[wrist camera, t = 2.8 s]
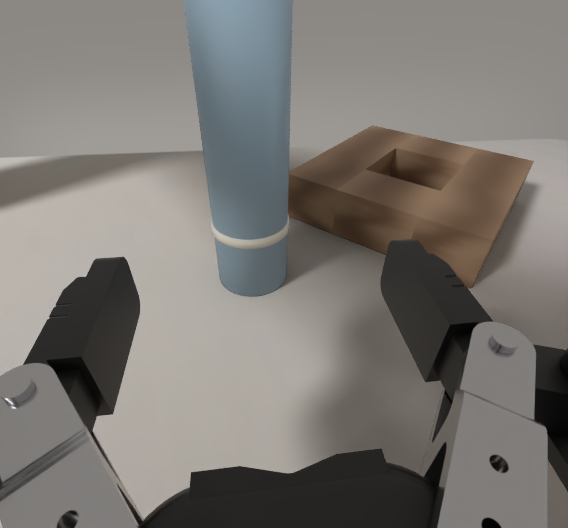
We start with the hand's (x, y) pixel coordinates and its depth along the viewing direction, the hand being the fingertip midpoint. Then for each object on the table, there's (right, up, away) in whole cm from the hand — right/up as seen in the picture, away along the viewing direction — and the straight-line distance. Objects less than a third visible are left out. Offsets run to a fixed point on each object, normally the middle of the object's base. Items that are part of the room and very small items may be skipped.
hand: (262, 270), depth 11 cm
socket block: (+12, +6, +22) cm, 26 cm away
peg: (-2, 0, +15) cm, 15 cm away
